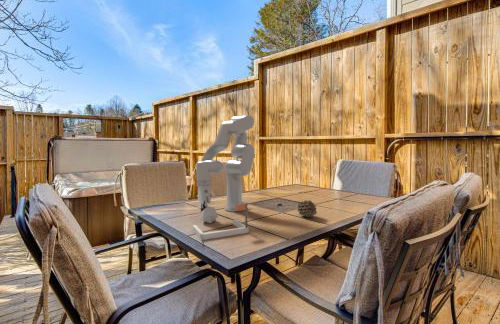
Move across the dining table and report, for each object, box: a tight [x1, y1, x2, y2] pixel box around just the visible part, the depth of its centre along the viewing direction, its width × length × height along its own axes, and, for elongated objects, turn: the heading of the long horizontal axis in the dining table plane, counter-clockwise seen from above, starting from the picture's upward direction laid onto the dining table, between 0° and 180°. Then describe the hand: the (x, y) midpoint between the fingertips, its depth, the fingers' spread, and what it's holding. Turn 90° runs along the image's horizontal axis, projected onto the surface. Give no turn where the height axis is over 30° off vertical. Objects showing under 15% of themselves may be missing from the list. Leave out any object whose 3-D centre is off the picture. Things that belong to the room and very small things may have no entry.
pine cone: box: [293, 199, 318, 218], centre depth 163 cm, size 22×10×10 cm, turn 26°
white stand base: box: [192, 202, 249, 241], centre depth 135 cm, size 23×16×14 cm
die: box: [200, 205, 219, 224], centre depth 151 cm, size 8×9×10 cm
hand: (204, 214), depth 160 cm, fingers closed
